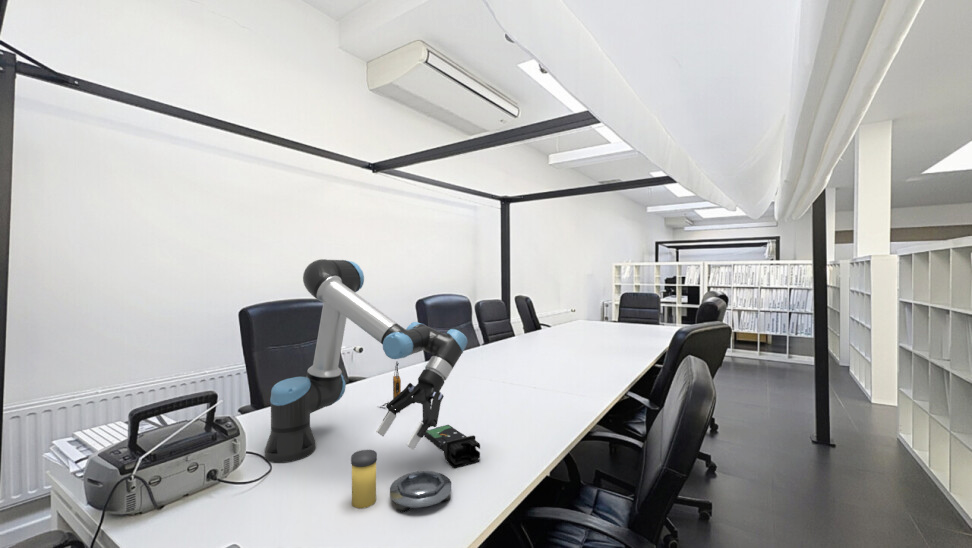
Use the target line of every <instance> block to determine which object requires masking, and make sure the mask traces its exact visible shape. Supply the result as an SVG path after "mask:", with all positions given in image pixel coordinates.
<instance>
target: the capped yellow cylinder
mask: <svg viewBox="0 0 972 548" xmlns="http://www.w3.org/2000/svg"><path fill="white" fill-rule="evenodd" d="M377 460H378V453H377V451H375V450H372V449H361V450H357V451H356V452H353V454H351V456H350V464H351V506H352V507H353V508H355V509H366V508H370V507H372V506H373V505H375V504H376V501H377Z"/></svg>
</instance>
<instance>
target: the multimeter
mask: <svg viewBox="0 0 972 548" xmlns="http://www.w3.org/2000/svg"><path fill="white" fill-rule="evenodd" d="M399 364H400V363H399V362H398V361H396V363H395V365H396V366H394V367H395V369H394V371H395V373H394V375H393V377H392V400H393V399H394V398H395V397H396V396H397V395H398V394H399V393H401V392H402V391H401V389H402V388H401V387H402V385H401V384H402V383H401V382H402V381H401V379H402V378H401V377H400V374H399V373H398V372H399V367H398V366H399ZM389 402H390V401H389ZM389 402H385V403H384V404H382V405H380V406H376V407H377V408H380V409H386V405H387V404H388V403H389ZM383 405H384V406H383ZM394 410H395V409H394Z"/></svg>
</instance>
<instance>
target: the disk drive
mask: <svg viewBox="0 0 972 548" xmlns="http://www.w3.org/2000/svg"><path fill="white" fill-rule="evenodd" d="M464 437H468V436H467V435H465V434H464V433H462V432H460V431H458V430H457V429H456V428H454V427H453V426H451V425H450V424H445V425H441V426H436V427H434V428H430V429H428V430H427V431H426V433H425V435H424V437H423V438H425V439H427V440H428V441H429V440H430V443H432V444H433V445H434V446H436V447H437V448H438V449H440V450H441V451H442V452H444V451H443V447H444V443H445V442H447V441H451V440H455V439H460V438H464Z"/></svg>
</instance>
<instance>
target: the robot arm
mask: <svg viewBox="0 0 972 548" xmlns="http://www.w3.org/2000/svg"><path fill="white" fill-rule="evenodd" d="M302 281H303V286H304V287H305V289H306V291H307V292H308V294H310V295H311V296H313V297H314V298H315V299H316V300H317V301H319V302H320V303H323V304H322V310H321V316H320V322H319V328H318V333H317V339H316V346H315V352H314V357H313V362H312V365H311V366H310V367H308V369H307V371H306V376H295V377H291V378H285V379H283V380H280V381H278V382H277V383H275V384H274V385H273V386H272V388H271V390H270V391H271V392H270V399H269V401H270V433H269V437H268V440H267V442H266V445H265V448H264V459H265V458H266V459H267V460H268V462H271V463H289V462H294V461H295V462H296V461H298V460H301V459H303V458H307V457H308V456H311V454H313V453H314V452H315V451H316V447H317V443H316V438H315V436H314V432H313V430H312V428H311V414H312V413H314V412H317V411H320V410H322V409H323V408H327V407H330V406H332V405H333V404H335V403H336V402H338V401H339V400H341V399H342V398H343V396H344V394H345V393H346V392H345V391H346V388H347V387H346V380H345V377H344V375H343V374H342V370H341V368H340V367H339V365H340V357H341V351H342V345H343V342H344V337H345V335H344V334H345V328H346V324H347V319H348V320H350V321H351V322H352V323H353V324H355V326H357V327H359V328H360V329H362V331H364V332H366V333H367V334H368V335H370V336H371V337H372V338H374V339H375V341H377V342H378V343H379V344H382V350H383V352H384V355H385V356H386V357H387V358H389V359H391V360H399V359H405V358H407V357H409V356H411V355H414V354H417V353H419V352H422V351H423V352H426V353H429V354H430V355H431V357H430V359H429V360H428V362H427V364H426V365H425V367H424V368H425V369H424V368H423V370H422V372H420V374H419V376H418V378H417V384H416V385H414V384H412V383H411V382H409V383H408V384H407V386H406V387H404V389H403V390H402V391H401V393H399V394H398V395H397V396H396V397H395V398H394V399H393V398H392V400H390V401H389V403H388V402H387V404H386V405H385V408H386V409H387V413H386V415H385V416H384V417H383V419H382V422H381V423H380V425H379V427H378V428H377V430H376V433H377V434H378V435H380V436H381V437H382V438H383V437H385V435H386V433H387V432H388V431H389V429H390V427H391V425H392V424H393V423H394V421H395V419H396V418H397V414H399V413H400V412H401V411H403V410H405V409H406V408H407V407H409V406H411V405H412V404H413V405H414V404H415V403H417V404H420V405H422V407H421V408H422V420H421V421H420V422H419V423H418V424H417V426H416V427H415V430H414V431H413V432H412V435H411V436H410V438H409V440H408V441H407V443H406V446H407V447H409V448H410V449H411V450H412V451H415V450H416V448H417V446H418V444H419V442H420V440H421V439H423V438H425V437H424V435H425V433H426V431H427V430H429V428H430V429H431V427H434V428H436V427H438V422H439V421H438V420H439V416H440V415H439V414H440V409H441V404H442V401H443V399H444V394H443V393H442V392H441V389H442V388H443V386H444V384H445V381H446V380H447V379H448V378H449V376H450V374H451V373H452V371H453V369H454V367H455V366H456V364H457V362H458V361H459V359H460V357H461V355H462V354H463V353H464V351H465V349H466V347H467V345H468V338H467V336H466V335H465V334H464V333H463V332H461V331H460V330H458V329H453V328H451V329H449V330H448V331H447V332H446V333H445V332H441V331H439V330H437V329H435V328H432V327H431V326H427V325H426V324H424V323H420V322H417V321H412V322H411V323H410V324H409V325H408V326H406V329H405V328H404V327H403V326H401V325H400V324H398V323H397V322H396V321H395V320H393V319H392V318H391V317H389V316H388V315H386V314H385V313H384V312H383V311H381V310H379V309H378V308H377V307H376V306H374V305H373V304H371V303H370V302H369V301H367V300H366V299H365V298H363V297H362V296H360V295H359V294H357V293H358V292H359V291H360V290H361V289H362V288H363V286H364V282H365V275H364V271H363V270H362V268H361V267H360V265H359V264H358V263H356V262H354V261H351V260H346V259H327V258H326V259H322V258H320V259H317V260H314V261H312V262H311V263H309V264H308V265H307V266H306V267H305V270H304V271H303V275H302ZM394 409H396V410H394ZM398 412H399V413H398ZM266 459H265V460H266ZM267 460H266V461H267Z"/></svg>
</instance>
